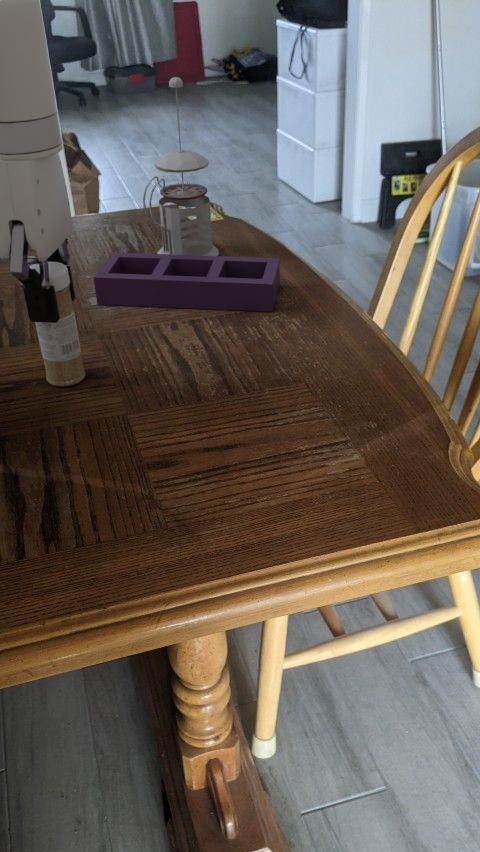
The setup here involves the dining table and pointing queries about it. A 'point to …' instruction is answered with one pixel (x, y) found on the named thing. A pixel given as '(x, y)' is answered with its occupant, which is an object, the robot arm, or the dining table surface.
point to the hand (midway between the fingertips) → (53, 308)
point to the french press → (183, 202)
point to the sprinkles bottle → (61, 333)
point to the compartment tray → (188, 281)
